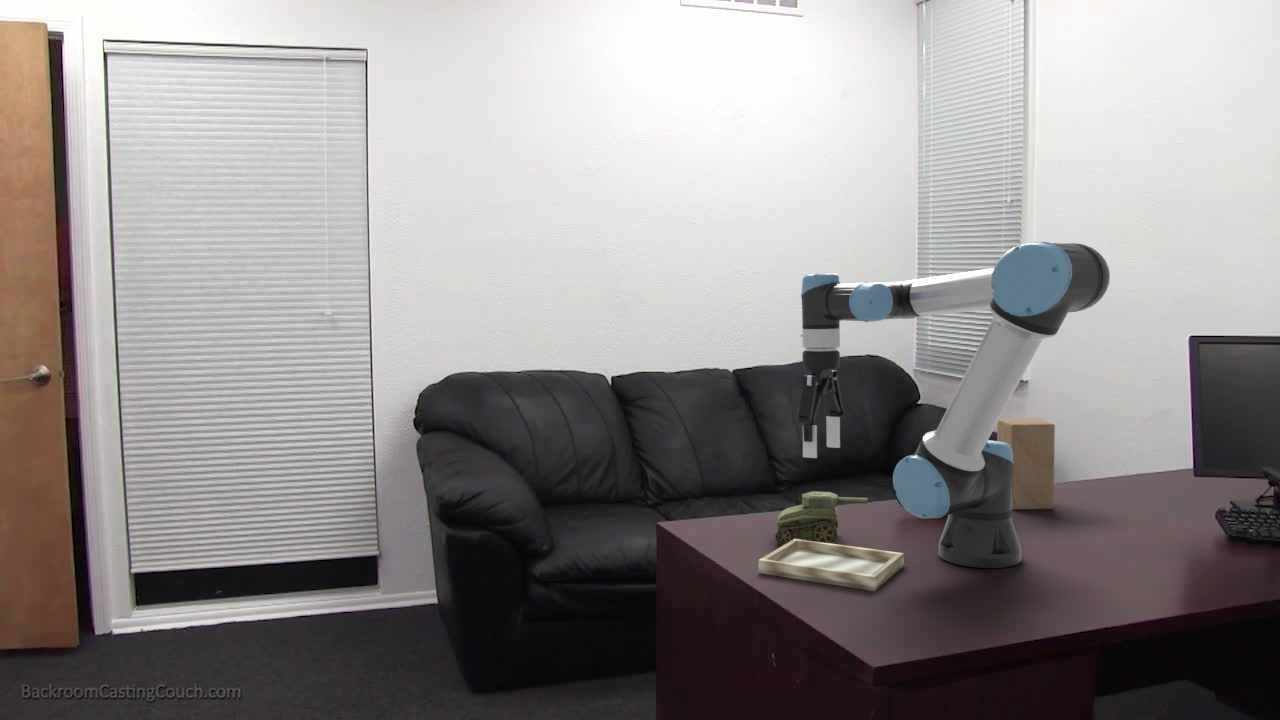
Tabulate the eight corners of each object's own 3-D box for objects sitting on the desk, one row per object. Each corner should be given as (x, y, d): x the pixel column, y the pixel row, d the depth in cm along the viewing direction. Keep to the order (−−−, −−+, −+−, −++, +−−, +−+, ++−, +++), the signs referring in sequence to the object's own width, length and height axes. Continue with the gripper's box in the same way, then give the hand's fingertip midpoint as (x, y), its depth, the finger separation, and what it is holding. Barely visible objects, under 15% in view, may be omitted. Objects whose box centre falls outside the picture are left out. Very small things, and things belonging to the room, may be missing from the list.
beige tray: (903, 566, 186) (903, 553, 186) (874, 591, 172) (874, 577, 172) (794, 551, 198) (794, 538, 197) (758, 573, 183) (758, 559, 183)
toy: (867, 549, 199) (868, 500, 198) (775, 545, 202) (775, 497, 202) (867, 536, 208) (867, 489, 208) (778, 533, 212) (778, 487, 211)
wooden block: (1054, 509, 229) (1055, 423, 227) (1010, 510, 229) (1011, 424, 227) (1037, 500, 239) (1038, 417, 237) (995, 500, 239) (996, 418, 237)
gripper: (824, 345, 215) (825, 442, 216) (780, 353, 193) (781, 460, 195) (858, 345, 211) (859, 444, 212) (816, 353, 190) (817, 463, 191)
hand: (821, 452), depth 204 cm, fingers open, 13 cm apart
